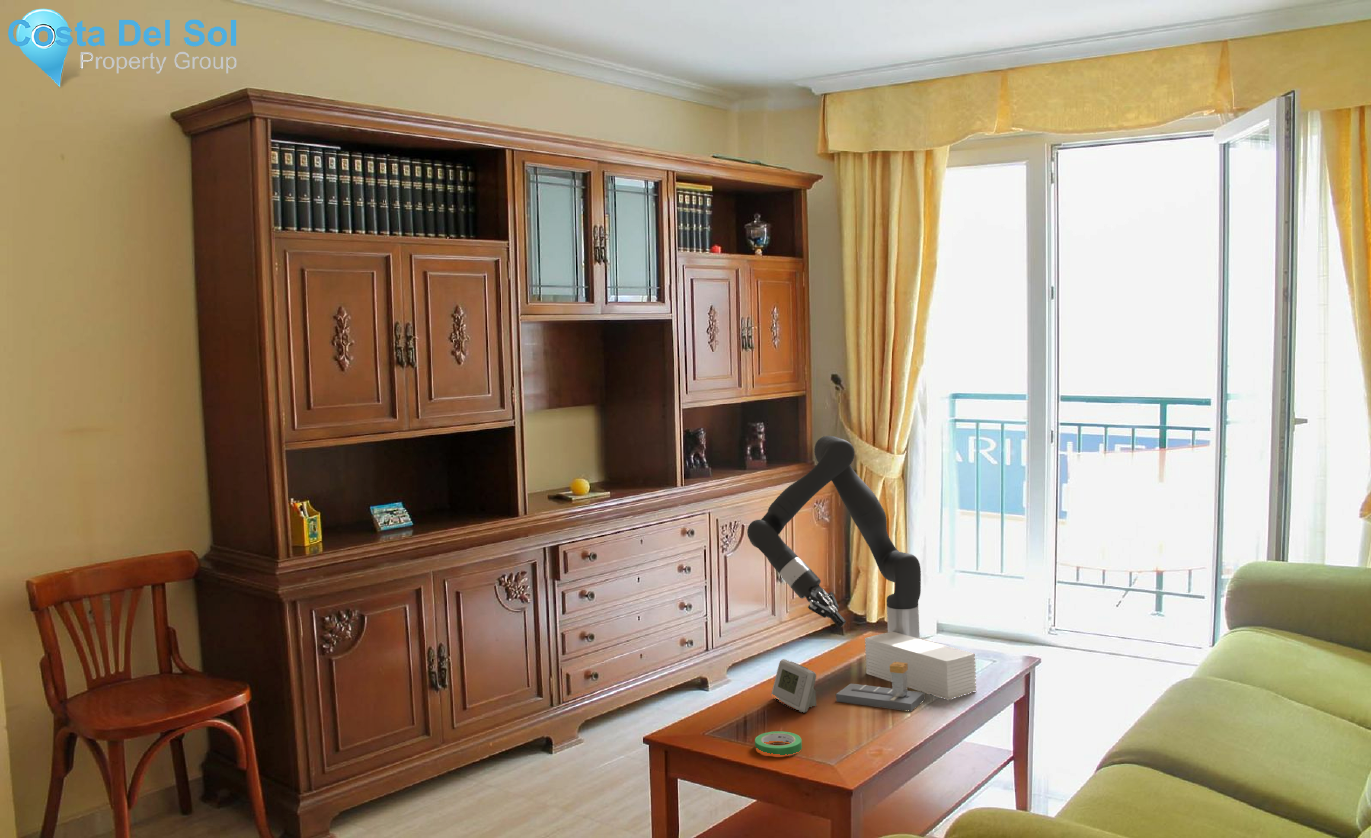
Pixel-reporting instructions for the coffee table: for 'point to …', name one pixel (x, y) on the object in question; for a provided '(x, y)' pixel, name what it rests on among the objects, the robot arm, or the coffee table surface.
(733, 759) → the coffee table surface
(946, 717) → the coffee table surface
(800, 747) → the tape roll
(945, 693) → the stack of papers
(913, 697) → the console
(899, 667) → the fader
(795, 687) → the digital clock
